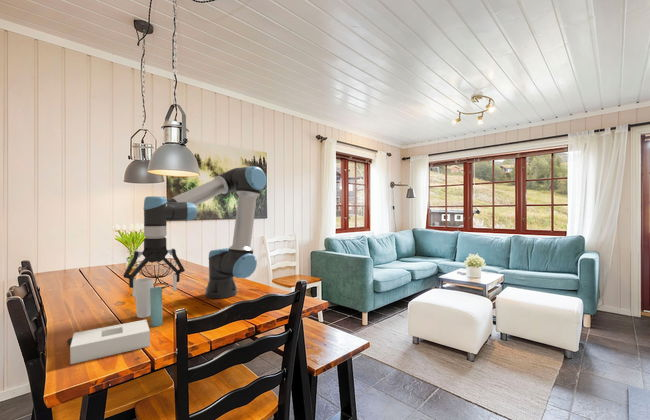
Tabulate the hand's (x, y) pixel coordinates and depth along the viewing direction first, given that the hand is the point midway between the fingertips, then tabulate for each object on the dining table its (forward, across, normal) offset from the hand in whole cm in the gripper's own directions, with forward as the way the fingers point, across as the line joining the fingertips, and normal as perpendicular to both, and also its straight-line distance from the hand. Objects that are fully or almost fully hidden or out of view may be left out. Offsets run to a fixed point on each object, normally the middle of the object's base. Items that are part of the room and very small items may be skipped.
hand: (155, 293), depth 118 cm
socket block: (+12, +14, +13) cm, 22 cm away
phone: (+13, +18, 0) cm, 22 cm away
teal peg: (+12, 0, 0) cm, 12 cm away
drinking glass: (+12, +2, -13) cm, 18 cm away
